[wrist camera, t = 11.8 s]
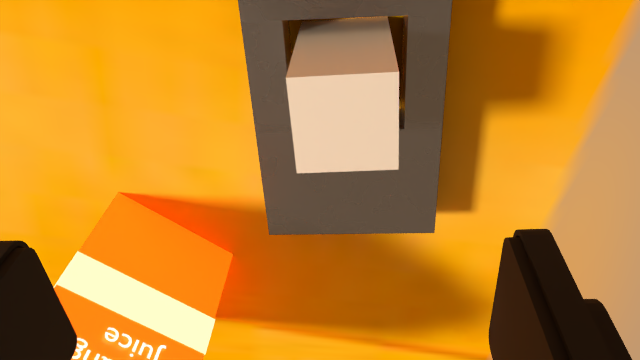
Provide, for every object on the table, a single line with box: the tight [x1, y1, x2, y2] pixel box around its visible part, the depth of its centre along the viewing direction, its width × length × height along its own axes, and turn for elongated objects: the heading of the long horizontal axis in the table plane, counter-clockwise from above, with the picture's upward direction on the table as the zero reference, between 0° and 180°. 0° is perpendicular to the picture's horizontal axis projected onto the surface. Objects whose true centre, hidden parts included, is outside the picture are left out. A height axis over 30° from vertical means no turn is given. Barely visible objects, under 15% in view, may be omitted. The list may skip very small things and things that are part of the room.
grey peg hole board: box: [238, 0, 452, 235], centre depth 28 cm, size 20×10×2 cm, turn 3°
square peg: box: [286, 16, 399, 173], centre depth 26 cm, size 4×4×8 cm
